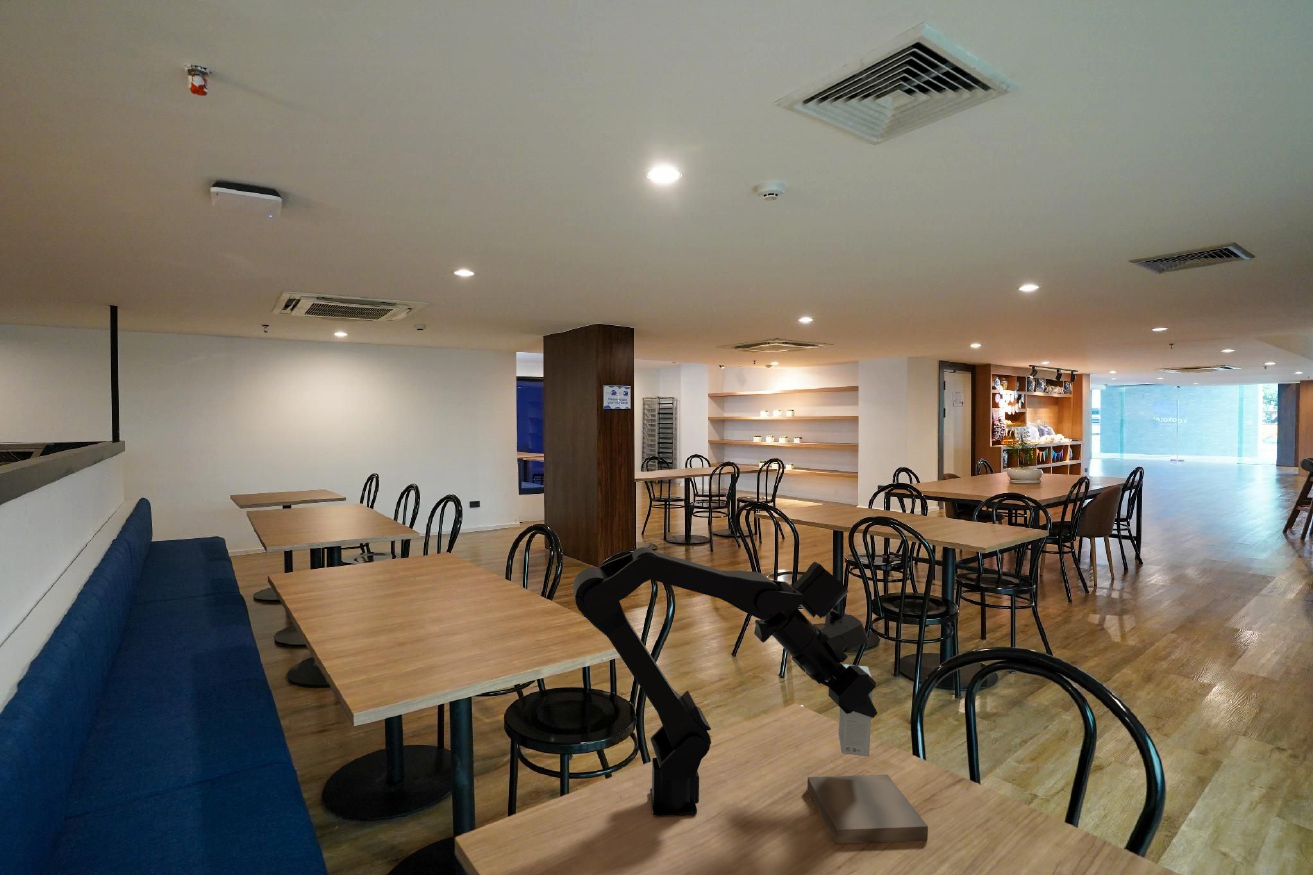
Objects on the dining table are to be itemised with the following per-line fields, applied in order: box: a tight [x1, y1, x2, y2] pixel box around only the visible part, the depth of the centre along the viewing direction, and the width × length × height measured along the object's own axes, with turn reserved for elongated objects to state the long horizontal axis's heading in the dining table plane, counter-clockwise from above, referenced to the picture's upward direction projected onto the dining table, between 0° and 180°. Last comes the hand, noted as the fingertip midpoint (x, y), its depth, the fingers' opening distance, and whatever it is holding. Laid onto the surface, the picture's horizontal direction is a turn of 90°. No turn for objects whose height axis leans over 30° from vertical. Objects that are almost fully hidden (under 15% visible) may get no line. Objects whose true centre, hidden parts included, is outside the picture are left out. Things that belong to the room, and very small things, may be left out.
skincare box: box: [838, 663, 873, 757], centre depth 105 cm, size 6×4×12 cm
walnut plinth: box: [806, 774, 929, 845], centre depth 98 cm, size 13×13×2 cm
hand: (863, 704), depth 105 cm, fingers closed on skincare box, 7 cm apart
